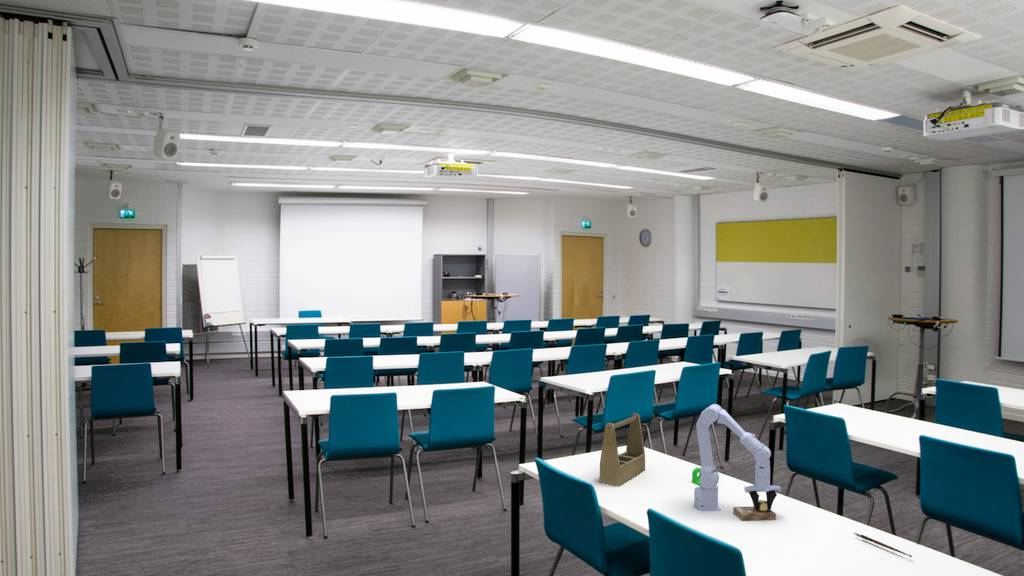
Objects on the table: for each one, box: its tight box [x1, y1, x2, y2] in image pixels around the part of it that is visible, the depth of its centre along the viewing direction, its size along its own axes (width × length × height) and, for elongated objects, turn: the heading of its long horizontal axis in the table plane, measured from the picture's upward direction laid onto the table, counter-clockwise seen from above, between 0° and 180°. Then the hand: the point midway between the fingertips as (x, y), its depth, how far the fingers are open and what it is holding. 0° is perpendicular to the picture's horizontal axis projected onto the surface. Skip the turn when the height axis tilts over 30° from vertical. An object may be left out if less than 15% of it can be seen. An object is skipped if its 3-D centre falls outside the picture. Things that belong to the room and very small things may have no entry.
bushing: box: [757, 499, 768, 513], centre depth 274 cm, size 4×4×6 cm
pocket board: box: [732, 505, 777, 522], centre depth 273 cm, size 14×9×3 cm, turn 94°
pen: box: [853, 532, 913, 558], centre depth 243 cm, size 1×1×23 cm
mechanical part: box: [691, 467, 719, 487], centre depth 315 cm, size 12×6×8 cm, turn 112°
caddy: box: [599, 413, 646, 488], centre depth 325 cm, size 29×11×30 cm, turn 144°
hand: (762, 509), depth 274 cm, fingers open, 5 cm apart
